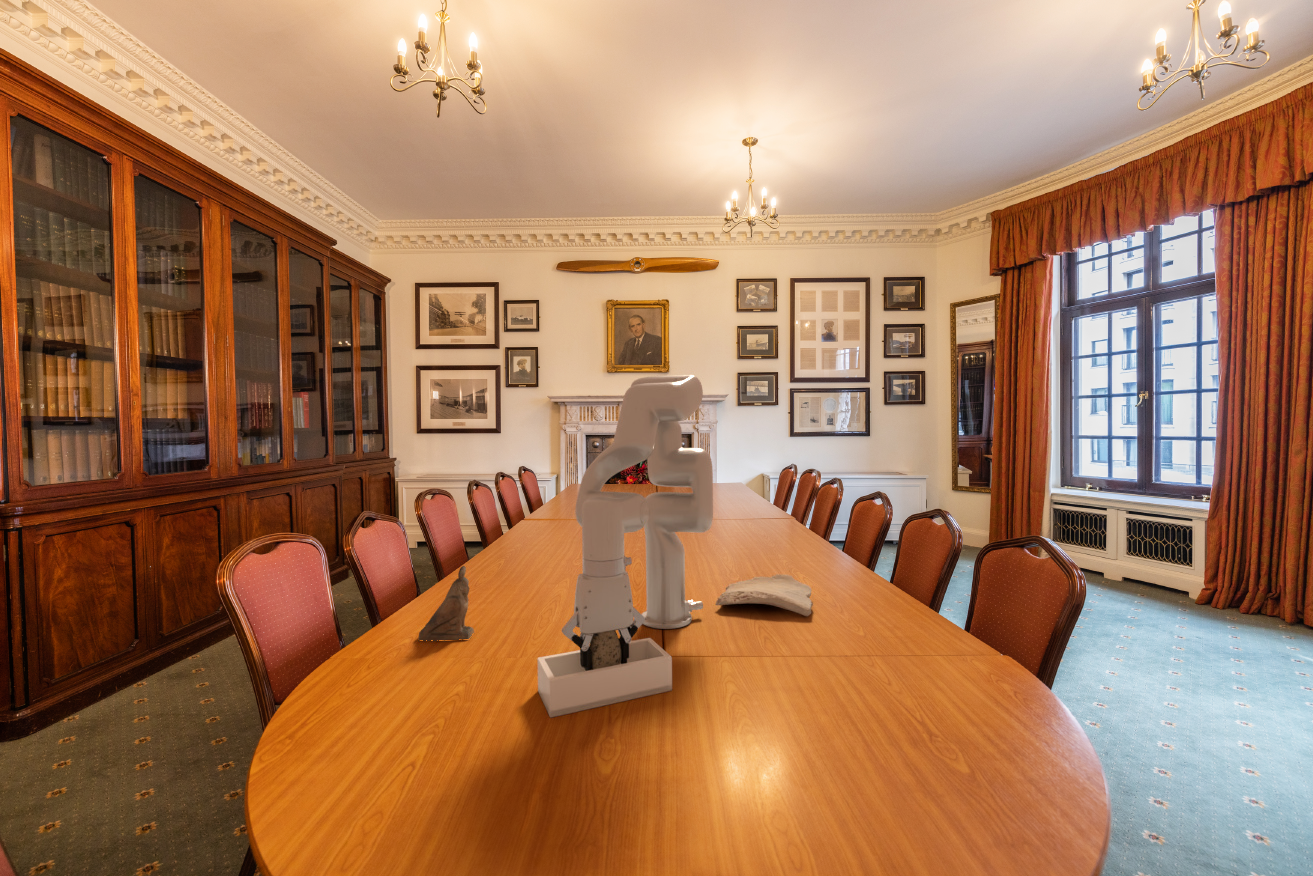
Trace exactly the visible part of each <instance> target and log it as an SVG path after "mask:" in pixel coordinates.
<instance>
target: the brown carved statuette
mask: <svg viewBox="0 0 1313 876" xmlns="http://www.w3.org/2000/svg"><path fill="white" fill-rule="evenodd" d="M466 570H467V568H466V566H465V565H462V566H461V567H460V568H459V571H458V574H457V575H458V576H457V577H458V578H456V579H455V580H454V581H453V582H452V584H451V585H450V587H449V589H448V592H447V593H446V596H445V598H444V599H443V601H442V602H441V603H440V605H439V606H438V607H437V609H436V611H435V612H434V613H433V614H432V615H431V617H430V619H429V620H428V622H427V623H425V625H424V626H423V627H422V629H420V631H419V633H418V639H419V640H423V641H426V640H427V641H431V640H433V641H435V642H436V641H437V640H438V641H439V640H459V639H469V638H470V637H471V636H472V634H473V633H474V634H475V629H474V628H473V627H472V626H467V625H466V624H465V623H466V621H465V620H466V616H467V612H468V610H469V609H468V608H469V601H470V600H469V592H470V586H469V582H470V581H469V579H468V578H467V577H466V576H465V575H466V572H467V571H466ZM472 637H473V636H472ZM472 637H471V638H472ZM471 638H470V639H471ZM419 640H418V641H419ZM433 641H432V642H433Z"/></svg>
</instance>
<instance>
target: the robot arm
mask: <svg viewBox="0 0 1313 876" xmlns="http://www.w3.org/2000/svg"><path fill="white" fill-rule="evenodd" d="M703 391H704V390H703V386H702V382H701V381H700V379H699V378H698V377H697V376H695V375H693V374H680V375H678V374H677V375H656V376H655V375H654V376H652V375H651V376H644V377H640V378H637V379H635V380H633V381H632V382H631V385H630V387H629V388H627V389H626V391H625V393H624V396H623V398H622V399H623V400H622V402H621V406H620V411H619V416H618V419H617V424H616V428H615V432H614V437H613V440H612V443H611V444H609V446H607V448H605V449H604V450H603V451H602V452H601V453H599V455H597V456H596V458H595V459H593V460H592V462H591V463H590V464H589V465H588V467H587V468H586V469H585V471H584V473H583V475H582V478H581V481H580V485H579V489H578V493H577V496H576V497H577V498H576V502H575V507H574V508H575V509H574V510H575V513H574V514H575V519H576V522H577V524H579V526H580V527H581V535H582V536H581V538H582V541H581V542H582V547H581V548H582V573H579V574H578V575H577V579H576V585H575V593H574V604H573V606H574V608H573V615H571V617H570V618H569V620H568V621H567V622H566V623H565V624H564V626H563V627H562V628H561V633H562V634H563V635H564V636H565V638H567V639H569V640H570V641H572V642H573V643H574V644H575V645H576V646H577V647H578V648H579V650H580V663H581V666H582V667H584V669H585V670H586V671H589V670H592V657H591V650H590V649H589V646H590V642H591V639H592V636H593V634H597V633H603V632H607V631H614V630H615V631H617V632H618V634H619V637H618V639H619V642H620V646H621V654H622V658H621V664H625V663H627V658H629V643H630V642H631V641H632V639H633V637H634V636H635V635H636V633H637V632H638V630H639V628H640V627H641V626H642V625H644V626H646V627H650V628H653V629H657V630H658V629H660V630H661V629H662V630H670V629H672V630H673V629H678V628H682V627H686V626H688V625H690V624H691V622H692V620H693V619H692V614H691V612H693V611H698V610H703V608H704V603H703V601H700V600H699V601H694V600H693V599H691V600H686V574H685V573H686V571H685V569H686V566H685V565H686V562H685V558H686V557H685V547H684V545H683V543H682V541H681V539H680V537H679V536H678V534H677V533H698V534H699V533H701V534H703V533H705V532H708V531H709V530H710V529H711V527H712V525H713V522H714V521H713V519H714V485H713V484H714V479H713V478H714V476H713V475H714V474H713V472H714V470H713V461H712V459H711V456H710V454H709V452H708V451H707V450H705V449H704V448H699V447H683V443H682V436H683V435H682V430H683V429H682V426H681V424H680V422H683V421H685V420H688V419H689V418H690V417H691V416H692V415H693V414H695V413H696V412H697V410H698V409H699V408H700V407H701V404H702V401H703V395H704V392H703ZM646 460H647V475H648V479H649V482H650V483H651V485H652V484H653V485H654V486H658V487H667V488H668V487H669V488H670V487H671V488H690V489H691V491H692V492H678V491H674V492H673V491H657V492H652V493H650V494H648V495H647V496H646V497H645V496H643V495H642V494H640V493H637V492H629V491H627V492H626V491H623V492H622V491H620V492H619V491H602V489H603V486H604V485H605V484H606V483H607V481H608V480H609V479H611V478H612V477H613V476H615V475H616V474H618V473H620V472H622V471H624V470H626V469H629V468H631V467H633V466H635V465H638V464H639V463H642V462H644V461H646ZM643 528H644V530H643V531H644V536H645V537H644V538H645V565H646V566H645V569H646V570H645V572H646V573H645V579H646V580H645V581H646V591H645V592H646V611H643V612H642V613H640V611H639V610H637V609H636V608H635V607H634V603H633V594H632V589H631V588H632V587H631V582H630V576H629V573H628V571H626V567H627V566H630V565H632V563H633V562H632V561H633V559H632V558H631V556H629V557H627V556H626V555H625V534H627V533H636V532H638V531H640V530H642V529H643ZM576 627H577V628H579V632H580V634H579V635H578V634H577V633H575V632H574V629H575V628H576Z"/></svg>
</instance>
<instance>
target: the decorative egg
mask: <svg viewBox="0 0 1313 876" xmlns="http://www.w3.org/2000/svg"><path fill="white" fill-rule="evenodd" d="M618 638H619V635H618V634H617V630H614V631H607V632H603V633H597V634H593V636H592V639H591V642H590V645H589V649H590V650H591V657H592V670H594V669H599V668H604V667H610V666H615V665H620V664H621V658H622V654H621V646H620V642H619V639H618Z"/></svg>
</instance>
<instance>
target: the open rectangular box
mask: <svg viewBox="0 0 1313 876" xmlns="http://www.w3.org/2000/svg"><path fill="white" fill-rule="evenodd" d="M670 691H673V658H672V656H671V655H670V653H668V652H667V651H666V650H664V648H662V647H661V646H660V645H659V644H658V643H656V641H654V639H652V638H651V637H646V638H640V639H635V640H631V642H630V643H629V658H627V663H625V664H620V665H615V666H610V667H604V668H599V669H594V670H589V671H586V670H585V669H584V667H582V666H581V663H580V649H578V650H574V651H569V652H563V653H557V654H556V653H555V654H551V655H546V656H545V655H544V656H539V657H537V692H538V694H539V697H540V698H541V701H542V702H543V705H544V707H545V709H546V711H547V713H548V716H549V717H550V718H554V717H559V716H560V717H561V716H564V715H568V714H572V713H577V712H581V711H585V710H591V709H595V708H600V707H603V706H604V707H605V706H608V705H612V704H617V703H621V702H625V701H631V700H634V699H639V698H643V697H647V696H652V695H656V694H661V693H666V692H670Z"/></svg>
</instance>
